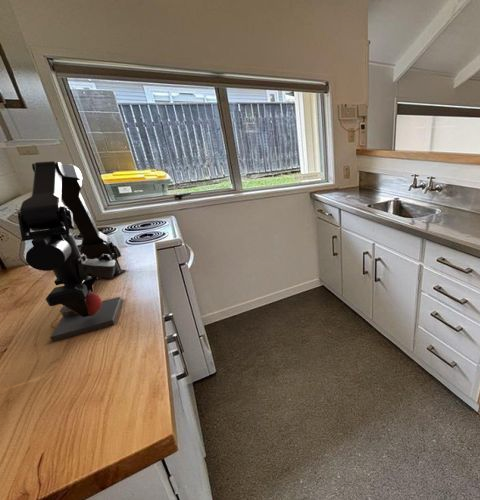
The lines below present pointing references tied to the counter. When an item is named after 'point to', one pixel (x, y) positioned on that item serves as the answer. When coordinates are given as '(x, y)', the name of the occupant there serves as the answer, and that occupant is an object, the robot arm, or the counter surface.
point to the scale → (86, 320)
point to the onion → (93, 303)
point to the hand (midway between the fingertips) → (89, 310)
